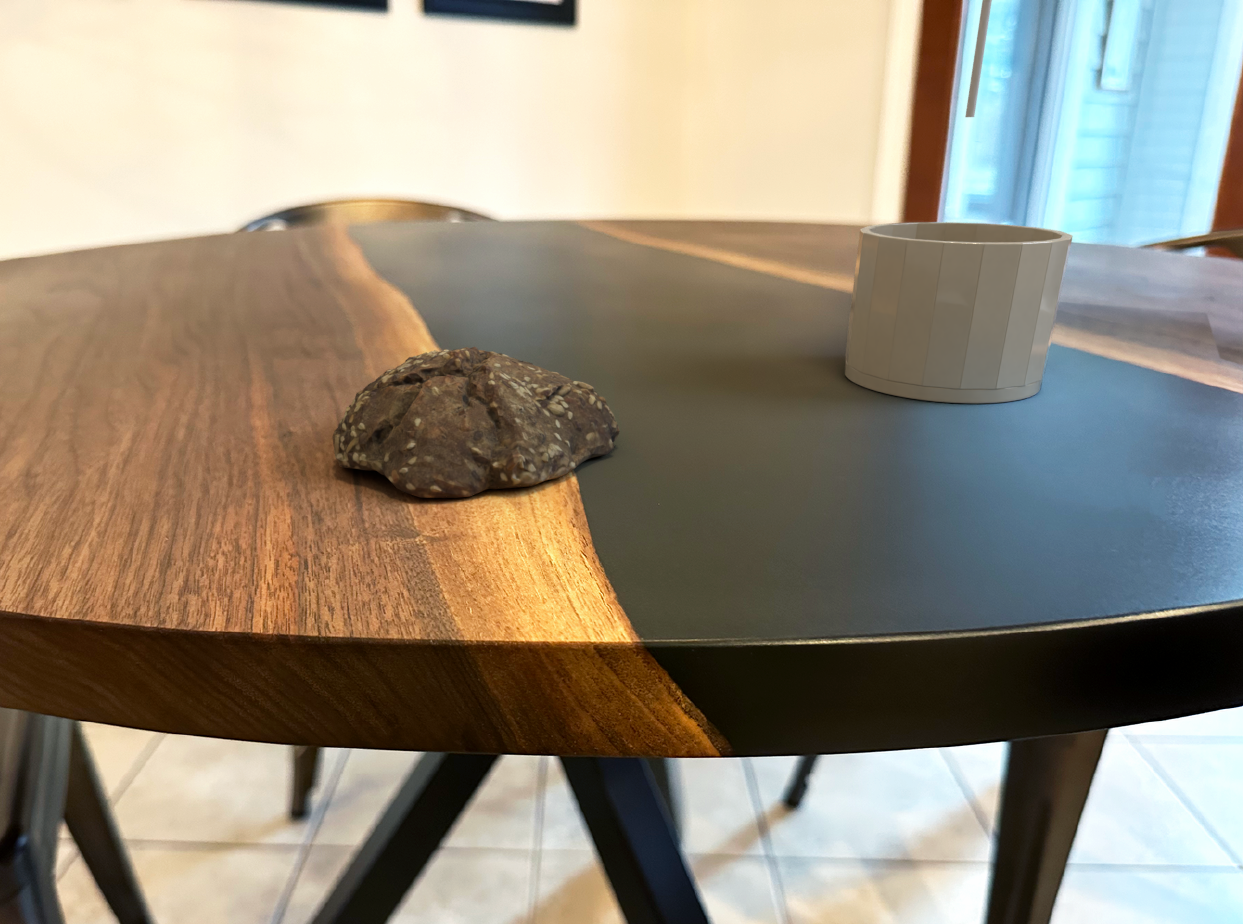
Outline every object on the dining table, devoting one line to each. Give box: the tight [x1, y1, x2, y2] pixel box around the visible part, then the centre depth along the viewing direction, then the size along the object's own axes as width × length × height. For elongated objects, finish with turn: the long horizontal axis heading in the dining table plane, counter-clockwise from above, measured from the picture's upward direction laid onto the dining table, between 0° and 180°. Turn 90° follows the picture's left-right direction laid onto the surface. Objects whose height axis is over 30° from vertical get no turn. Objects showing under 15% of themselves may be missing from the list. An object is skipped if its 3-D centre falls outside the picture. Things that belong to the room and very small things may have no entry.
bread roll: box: [332, 346, 621, 499], centre depth 44 cm, size 13×12×5 cm
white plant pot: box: [844, 221, 1074, 404], centre depth 55 cm, size 11×11×8 cm
